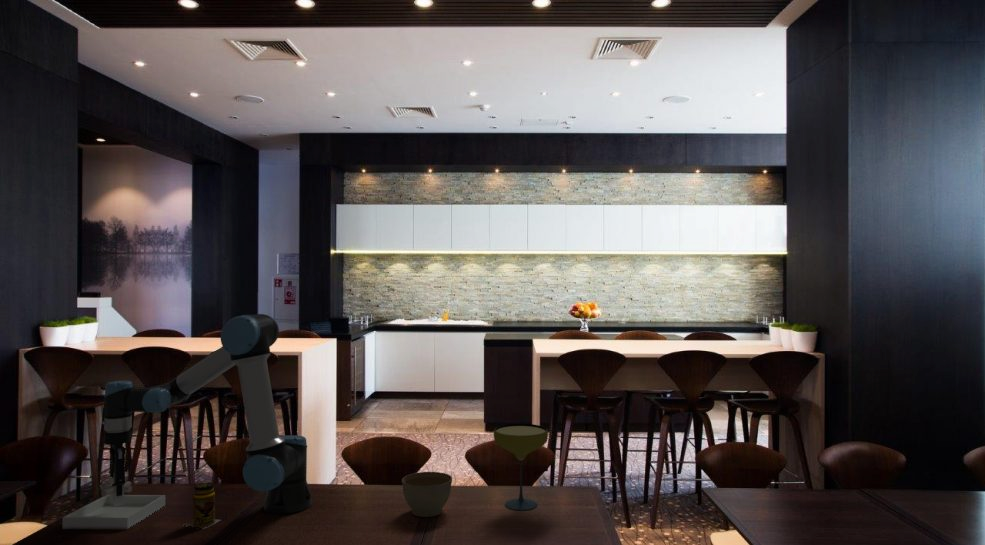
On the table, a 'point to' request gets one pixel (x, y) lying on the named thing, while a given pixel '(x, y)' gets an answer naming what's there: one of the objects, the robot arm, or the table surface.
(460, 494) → the table surface
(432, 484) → the planter bowl
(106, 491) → the pipe connector
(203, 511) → the condiment
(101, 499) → the tray
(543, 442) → the cocktail glass
